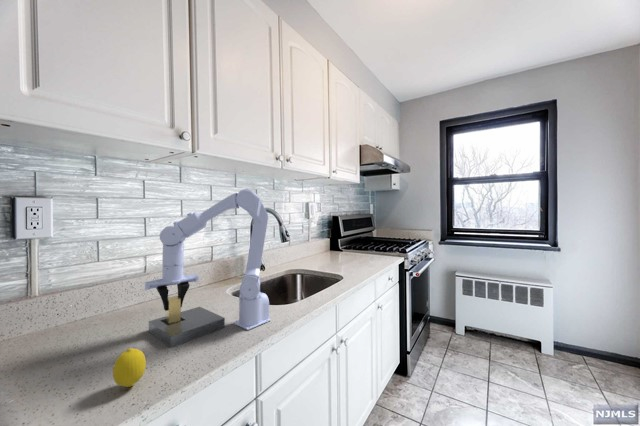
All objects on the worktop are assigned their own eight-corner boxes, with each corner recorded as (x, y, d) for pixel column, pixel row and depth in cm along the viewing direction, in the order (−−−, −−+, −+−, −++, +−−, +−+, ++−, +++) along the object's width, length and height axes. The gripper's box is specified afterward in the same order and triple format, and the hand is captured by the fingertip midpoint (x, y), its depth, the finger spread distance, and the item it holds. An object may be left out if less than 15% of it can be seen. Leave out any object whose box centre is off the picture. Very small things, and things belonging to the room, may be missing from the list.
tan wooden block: (177, 317, 82) (177, 295, 82) (180, 321, 79) (180, 298, 79) (165, 320, 80) (165, 297, 80) (168, 324, 77) (168, 300, 77)
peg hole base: (199, 314, 92) (199, 306, 92) (224, 327, 82) (224, 317, 82) (148, 331, 79) (148, 321, 79) (170, 347, 69) (170, 336, 69)
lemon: (140, 375, 58) (141, 339, 58) (149, 385, 54) (149, 347, 54) (109, 388, 53) (109, 349, 53) (116, 400, 50) (117, 359, 50)
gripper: (147, 270, 72) (147, 318, 72) (201, 263, 82) (201, 306, 82) (143, 266, 78) (143, 311, 77) (194, 260, 87) (194, 300, 87)
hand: (172, 308), depth 80 cm, fingers closed on tan wooden block, 3 cm apart
